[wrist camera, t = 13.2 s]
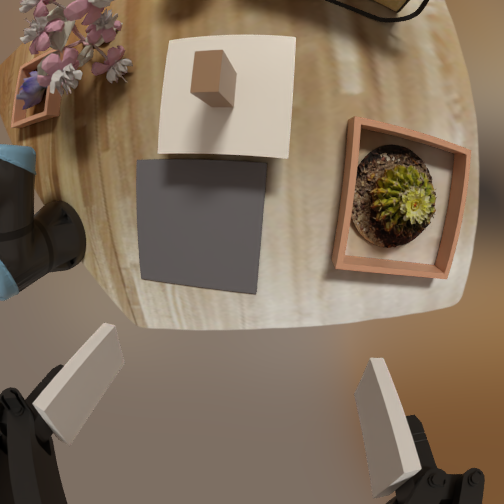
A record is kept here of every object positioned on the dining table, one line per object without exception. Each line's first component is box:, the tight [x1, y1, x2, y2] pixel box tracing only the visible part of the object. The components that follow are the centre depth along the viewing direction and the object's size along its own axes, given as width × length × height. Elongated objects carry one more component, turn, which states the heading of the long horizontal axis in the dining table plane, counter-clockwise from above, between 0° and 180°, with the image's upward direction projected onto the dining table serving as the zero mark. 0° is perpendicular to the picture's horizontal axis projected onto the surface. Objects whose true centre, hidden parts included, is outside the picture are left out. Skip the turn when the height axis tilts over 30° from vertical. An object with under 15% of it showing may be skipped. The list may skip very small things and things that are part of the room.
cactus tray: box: [331, 116, 471, 279], centre depth 38 cm, size 22×23×4 cm
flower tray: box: [11, 49, 65, 128], centre depth 36 cm, size 15×16×4 cm
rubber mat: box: [136, 159, 267, 294], centre depth 45 cm, size 22×22×1 cm
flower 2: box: [19, 0, 133, 96], centre depth 26 cm, size 20×22×25 cm
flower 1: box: [16, 71, 48, 110], centre depth 34 cm, size 9×9×10 cm
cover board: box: [158, 35, 296, 159], centre depth 27 cm, size 18×18×10 cm
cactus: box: [351, 145, 437, 248], centre depth 35 cm, size 17×16×10 cm
